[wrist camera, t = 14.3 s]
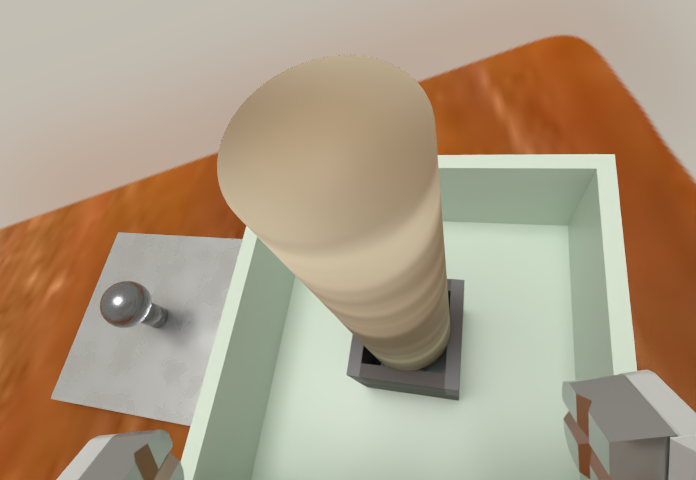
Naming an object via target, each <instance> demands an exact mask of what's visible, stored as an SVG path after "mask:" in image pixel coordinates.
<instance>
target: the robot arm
mask: <svg viewBox="0 0 696 480" xmlns="http://www.w3.org/2000/svg"><path fill="white" fill-rule="evenodd" d="M562 400H563V401H564V403H565V405H566V406H567V408H568V410H569V411H568V413H567V414H566V415H565V417H564V418H563V421H564V433H565V437H566V441H567V445H568V449H569V451H570V454H571V456H572V459H573V461H574V463H575V465H576V467H577V469H578V470H579V472H580V473H582V474H583V475H585V476H586V477H588V478H589V479H590V480H696V413H695V412H694V411H693V410H692V409H691V408H690V407H689V406H688V405H687V404H686V403H685V402H684V401H683V400H682V399H681V398H680V397H679V396H678V395H677V394H676V393H675V392H674V391H673V390H672V389H671V388H670V387H669V386H667V385H666V384H665V383H664V382H663V381H662V380H661V379H660V378H659V377H658V376H657V375H656V374H655V373H654V372H652V371H650V370H641V371H634V372H627V373H620V374H619V375H611V376H603V377H595V378H587V379H579V380H571V381H563V385H562ZM172 446H173V443H172V440H171V438H170V436H169V434H168V432H167V431H164V430H151V431H140V432H129V433H119V434H112V435H102V436H97V437H95V438H93V439H91V440H90V441H89V442H88V443H87V444H86V445H85V447H84V448H83V449H82V450H81V451H80V452H79V454H78V455H77V456H76V457H75V458H74V460H73V461H72V462H71V463H70V464H69V465H68V467H67V468H66V469H65V470H64V471H63V473H62V474H61V475H60V476H59V477H58V478H57V480H184V471H183V468H182V465H181V463H180V460H178V459H177V458H176V457H174V456H173V455H172V454H170V451H171V448H172Z"/></svg>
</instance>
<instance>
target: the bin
mask: <svg viewBox="0 0 696 480" xmlns="http://www.w3.org/2000/svg"><path fill="white" fill-rule="evenodd" d="M438 167H439V180H440V193H441V207H442V220H443V233H444V247H445V260H446V274H447V279H458V280H465V282H464V311H463V330H462V349H461V369H460V388H459V401H458V400H451V399H444V398H437V397H430V396H424V395H417V394H410V393H403V392H396V391H389V390H382V389H375V388H369V387H366V386H364V385H362V384H361V383H359V382H357V381H356V380H354V379H352V378H351V377H349V376H347V375H346V374H347V368H348V361H349V354H350V348H351V341H352V335H353V334H352V333H351V332H350V331H349V330H348V329H347V328H346V327H345V326H344V325H343V324H342V323H341V322H340V321H339V319H338V318H337V317H336V316H335V315H334V314H333V313H332V312H331V311H330V310H329V309H328V308H327V307H326V306H325V305H324V304H323V303H322V302H321V301H320V300H319V299H318V298H317V297H316V296H315V295H314V294H313V293H312V292H311V291H310V290H309V289H308V288H307V287H306V286H305V285H304V284H303V283H302V282H301V281H300V280H299V279H298V278H297V277H296V276H295V275H294V274H293V273H292V272H291V271H290V269H289V268H288V267H287V266H286V265H285V264H284V263H283V262H282V261H281V260H280V259H279V258H278V257H277V256H276V255H275V254H274V253H273V252H272V251H271V250H270V249H269V248H268V247H267V246H266V245H265V244H264V243H263V242H262V241H261V240H260V239H259V238H258V237H257V236H256V235H255V234H254V233H253V232H252V231H251V230H250V229H249V228H248V227H247V226H246V230H245V233H244V237H243V240H242V244H241V248H240V251H239V255H238V258H237V262H236V265H235V269H234V273H233V276H232V280H231V283H230V287H229V291H228V294H227V298H226V301H225V305H224V309H223V312H222V316H221V319H220V323H219V326H218V330H217V334H216V337H215V341H214V344H213V348H212V352H211V355H210V359H209V362H208V366H207V369H206V373H205V377H204V380H203V384H202V387H201V391H200V395H199V398H198V402H197V405H196V409H195V413H194V416H193V420H192V423H191V427H190V430H189V434H188V438H187V441H186V445H185V448H184V452H183V456H182V459H181V465H182V468H183V471H184V480H590V479H589V478H588V477H586V476H585V475H583V474H582V473H580V472H579V470H578V469H577V467H576V465H575V463H574V461H573V459H572V456H571V454H570V451H569V449H568V445H567V441H566V437H565V433H564V421H563V418H564V417H565V415H566V414H567V413H568V411H569V410H568V408H567V406H566V405H565V403H564V401H563V400H562V385H563V381H571V380H579V379H587V378H595V377H603V376H611V375H619V374H620V373H627V372H634V371H637V365H636V355H635V346H634V336H633V326H632V317H631V307H630V297H629V288H628V278H627V268H626V259H625V249H624V240H623V230H622V220H621V211H620V201H619V191H618V182H617V172H616V163H615V154H562V155H438ZM446 356H447V346H446V348H445V350H444V352H443V353H442V355H441V356H440V357H439V358H438V359H437V360H436V361H435V362H433V363H432V364H431V365H429V366H427V367H425V368H422V369H419V370H417V371H425V372H433V373H440V374H445V372H446ZM380 366H386V365H384V364H383V363H381V364H380ZM386 367H388V366H386Z"/></svg>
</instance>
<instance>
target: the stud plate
mask: <svg viewBox="0 0 696 480" xmlns="http://www.w3.org/2000/svg"><path fill="white" fill-rule="evenodd" d="M242 240H243V239H230V238H211V237H193V236H174V235H156V234H137V233H119V232H118V234H117V237H116V239H115V242H114V244H113V246H112V249H111V251H110V254H109V256H108V259H107V261H106V264H105V266H104V269H103V271H102V273H101V276H100V278H99V281H98V283H97V286H96V288H95V291H94V293H93V296H92V298H91V301H90V303H89V305H88V308H87V310H86V313H85V315H84V318H83V320H82V323H81V325H80V328H79V330H78V332H77V335H76V337H75V340H74V342H73V345H72V347H71V350H70V352H69V355H68V357H67V360H66V362H65V364H64V367H63V369H62V372H61V374H60V377H59V379H58V382H57V384H56V387H55V389H54V391H53V394H52V396H51V399H54V400H60V401H65V402H70V403H75V404H80V405H85V406H90V407H95V408H101V409H106V410H111V411H116V412H121V413H126V414H131V415H136V416H142V417H147V418H152V419H157V420H162V421H167V422H172V423H177V424H182V425H188V426H191V423H192V420H193V416H194V413H195V409H196V405H197V402H198V398H199V395H200V391H201V387H202V384H203V380H204V377H205V373H206V369H207V366H208V362H209V359H210V355H211V352H212V348H213V344H214V341H215V337H216V334H217V330H218V326H219V323H220V319H221V316H222V312H223V309H224V305H225V301H226V298H227V294H228V291H229V287H230V283H231V280H232V276H233V273H234V269H235V265H236V262H237V258H238V255H239V251H240V248H241V244H242Z"/></svg>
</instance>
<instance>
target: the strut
mask: <svg viewBox="0 0 696 480" xmlns="http://www.w3.org/2000/svg"><path fill="white" fill-rule="evenodd" d="M217 175H218V180H219V186H220V188H221V191H222V194H223V197H224V198H225V200H226V202H227V204H228V205H229V207H230V208H231V209H232V211H233V212H234V213H235V214H236V215H237V216H238V217H239V218H240V219H241V221H242V222H243V223H244V224H245V225H246V226H247V227H248V228H249V229H250V230H251V231H252V232H253V233H254V234H255V235H256V236H257V237H258V238H259V239H260V240H261V241H262V242H263V243H264V244H265V245H266V246H267V247H268V248H269V249H270V250H271V251H272V252H273V253H274V254H275V255H276V256H277V257H278V258H279V259H280V260H281V261H282V262H283V263H284V264H285V265H286V266H287V267H288V268H289V269H290V271H291V272H292V273H293V274H294V275H295V276H296V277H297V278H298V279H299V280H300V281H301V282H302V283H303V284H304V285H305V286H306V287H307V288H308V289H309V290H310V291H311V292H312V293H313V294H314V295H315V296H316V297H317V298H318V299H319V300H320V301H321V302H322V303H323V304H324V305H325V306H326V307H327V308H328V309H329V310H330V311H331V312H332V313H333V314H334V315H335V316H336V317H337V318H338V319H339V321H340V322H341V323H342V324H343V325H344V326H345V327H346V328H347V329H348V330H349V331H350V332H351V333H352V334H353V335H352V341H351V348H350V354H349V361H348V368H347V374H346V375H347V376H349V377H351V378H352V379H354V380H356V381H357V382H359V383H361V384H362V385H364V386H366V387H369V388H375V389H382V390H389V391H396V392H403V393H410V394H417V395H424V396H430V397H437V398H444V399H451V400H458V401H459V388H460V369H461V349H462V330H463V311H464V282H465V280H458V279H447V274H446V260H445V247H444V233H443V220H442V207H441V193H440V180H439V167H438V153H437V140H436V126H435V119H434V112H433V109H432V106H431V103H430V101H429V99H428V97H427V95H426V93H425V91H424V90H423V89H422V87H421V86H420V85H419V84H418V82H417V81H416V80H415V79H414V78H412V77H411V76H410V75H409V74H408V73H406V72H405V71H403V70H402V69H400V68H399V67H397V66H395V65H393V64H391V63H389V62H386V61H383V60H380V59H376V58H371V57H366V56H357V55H338V56H329V57H323V58H319V59H314V60H311V61H308V62H305V63H302V64H299V65H297V66H294V67H292V68H290V69H288V70H286V71H284V72H282V73H280V74H278V75H277V76H275V77H273V78H272V79H271V80H269V81H267V82H266V83H265V84H263V85H262V86H261V87H260V88H258V89H257V90H256V91H255V92H254V93H253V94H252V95H251V96H250V97H249V98H247V100H246V101H245V102H244V103H243V104H242V105H241V107H240V108H239V109H238V111H237V112H236V113H235V115H234V116H233V118H232V119H231V121H230V123H229V125H228V126H227V128H226V131H225V133H224V135H223V138H222V140H221V144H220V148H219V152H218V160H217ZM446 346H447V356H446V372H445V374H440V373H433V372H425V371H417V370H419V369H422V368H425V367H427V366H429V365H431V364H432V363H433V362H435V361H436V360H437V359H438V358H439V357H440V356H441V355H442V353H443V352H444V350H445V348H446ZM381 363H383V364H384V365H386V366H388V367H386V366H380V364H381Z"/></svg>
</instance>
